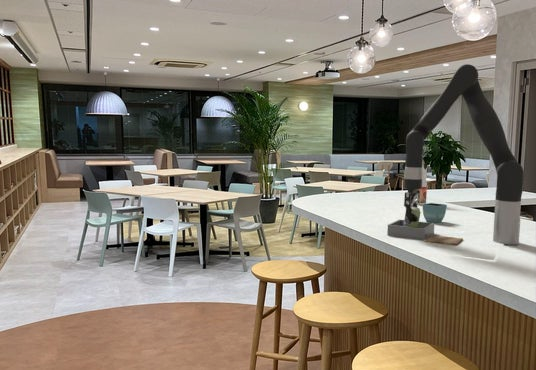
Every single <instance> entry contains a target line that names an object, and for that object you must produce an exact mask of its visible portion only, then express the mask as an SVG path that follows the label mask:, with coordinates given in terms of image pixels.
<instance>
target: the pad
mask: <svg viewBox="0 0 536 370" xmlns="http://www.w3.org/2000/svg"><path fill="white" fill-rule="evenodd" d="M463 240H464V238H463V237H462V238H461V237H453V236H444V235H435V234H432V235H431V236H429V237H428V238H426V239H425V241H424V242H426V243H433V244H434V243H435V244H441V245H450V246H458V245H459V244H460V243H461V242H462V241H463Z"/></svg>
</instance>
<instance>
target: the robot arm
mask: <svg viewBox="0 0 536 370" xmlns="http://www.w3.org/2000/svg"><path fill="white" fill-rule="evenodd" d="M460 96H462V97H463V101H465V104H466V106H467V109H468V112H469V115H470V119H471V121H472V123H473V126H474V127H475V130H476V132H477V134H478V136H479V138H480V140H481V142H482V144H483V145H484V147H485V148H486V149H487V151H488V153H489V154H490V157H491V159H492V162H493V164H494V167H495V168H494V169H495V171H496V172H495V173H496V175H497V176H496V189H495V198H494V199H495V200H494V214H493V215H494V218H493V232H492V233H493V236H492V237H493V238H492V241H493V243H494V242H495V243H498V244H504V245H510V246H511V245H516V246H518V244H519V243H520V235H521V234H520V233H521V232H520V231H521V230H520V228H521V205H522V195H523V190H524V189H523V187H524V185H523V184H524V169H523V166H522V164H520V163H519V162H518V161H517V160H516V158H515V156H514V154H513V152H512V151H511V149H510V147H509V144H508V142H507V141H508V140H507V138H506V134H505V131H504V128H503V126H502V122H501V121H500V118H499V116H498V114H497V113H496V111H495V109H494V107H493V106H492V104H491V103H490V101H488V99H487V97H486V96H485V94H484V92H483V90H482V88H481V85H480V82H479V71H478V69H477V68H476V67H475V66H474V65H473V64H468V63H467V64H462V65H460V66H459V67H457V68H456V70H455V71H454V73H453V75H452V78H451V79H450V81H449V82H448V84H447V85H446V87H445V89H444V90H443V91H442V92H441V94H440V95H439V96H438V98H436V99H435V101H434V102H433V103H432V104H431V106H429V108H428V109H427V111H425V113H423V115H422V116H421V118H420V119H419V121H418V123H417V124H416V125H415V126H414V127H413V128H412V129H411V131H410V132H408V133H407V135H406V137H405V148H406V150H405V158H404V159H405V160H404V162H405V163H404V172H403V188H404V189H405V190H407V192H404V200H403V202H404V203H403V206H404V207H405V213H406V216H407V217H411V211H412V207H417V208H418V206H419V205H418V203H419V198H420V190H419V189H422V175H423V172H422V163H423V160H424V159H423V150H424V142H425V141H426V140H427V138H428V137H429V136H430V133H431V132H432V131H433V130H434V129H435V128H436V127H437V126H438V125H439V124H440V123H441V121H442V120H444V118H445V116H446V114H447V113H448V112H449V111H450V109H451V108H452V107H453V105H454V103H455V102H456V101H457V100H458V99H459V98H460ZM423 164H424V163H423Z"/></svg>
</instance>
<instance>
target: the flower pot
mask: <svg viewBox="0 0 536 370" xmlns="http://www.w3.org/2000/svg"><path fill="white" fill-rule="evenodd" d="M421 206H422V214H423V218H424V220H425V222H428V223H434V224H438V223H442V221H443V220H444V218H445V217H446V216H445V215H446V212H447V206H448V205H447V204H445V203H444V204H443V203H436V202H435V203H434V202H429V203H427V202H426V204H422V205H421Z"/></svg>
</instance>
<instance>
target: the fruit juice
mask: <svg viewBox="0 0 536 370" xmlns="http://www.w3.org/2000/svg"><path fill="white" fill-rule="evenodd" d="M424 162H425V160H424V159H423V163H422V172H423V175H422V189H419V190H420V198H419V203H418V205H417V206H422V204H427V193H428V191H427V190H428V181H427V177H428V172H427V171H426V169H425V166H424Z"/></svg>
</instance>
